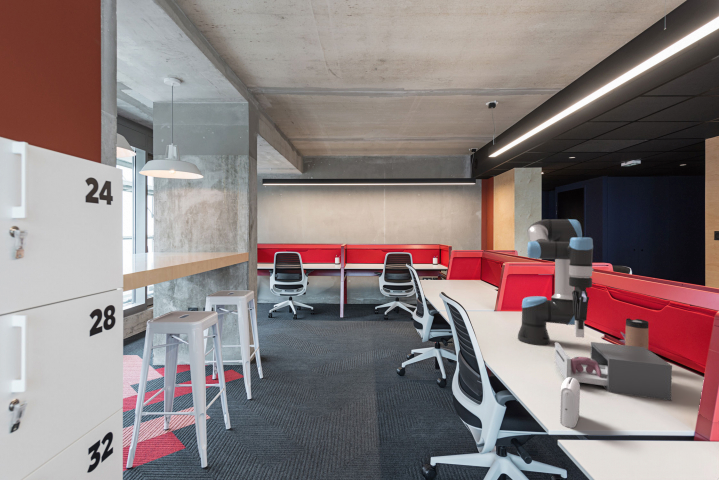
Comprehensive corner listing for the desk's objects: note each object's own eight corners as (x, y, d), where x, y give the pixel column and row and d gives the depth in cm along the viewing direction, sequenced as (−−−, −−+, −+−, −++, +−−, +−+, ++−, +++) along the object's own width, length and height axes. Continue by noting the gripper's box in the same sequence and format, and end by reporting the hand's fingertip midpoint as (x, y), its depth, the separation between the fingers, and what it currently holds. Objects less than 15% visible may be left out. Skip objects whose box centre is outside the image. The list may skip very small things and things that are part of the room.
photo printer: (575, 430, 96) (576, 387, 96) (558, 424, 99) (559, 383, 98) (580, 415, 104) (581, 376, 104) (564, 410, 107) (565, 372, 106)
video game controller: (599, 377, 130) (596, 359, 133) (603, 376, 126) (600, 357, 129) (569, 374, 133) (568, 355, 136) (572, 373, 129) (570, 354, 132)
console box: (608, 391, 120) (609, 358, 120) (590, 370, 139) (591, 341, 138) (671, 400, 114) (672, 365, 114) (643, 377, 133) (644, 347, 133)
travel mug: (642, 371, 138) (643, 323, 138) (621, 365, 145) (622, 319, 145) (651, 368, 142) (652, 321, 141) (630, 362, 149) (631, 317, 148)
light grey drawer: (565, 381, 124) (566, 358, 124) (553, 362, 143) (554, 342, 143) (625, 390, 118) (626, 365, 118) (605, 368, 137) (605, 347, 137)
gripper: (597, 279, 123) (596, 342, 124) (586, 275, 136) (585, 332, 136) (574, 278, 126) (572, 340, 126) (565, 274, 139) (564, 330, 139)
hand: (579, 336), depth 131 cm, fingers closed
